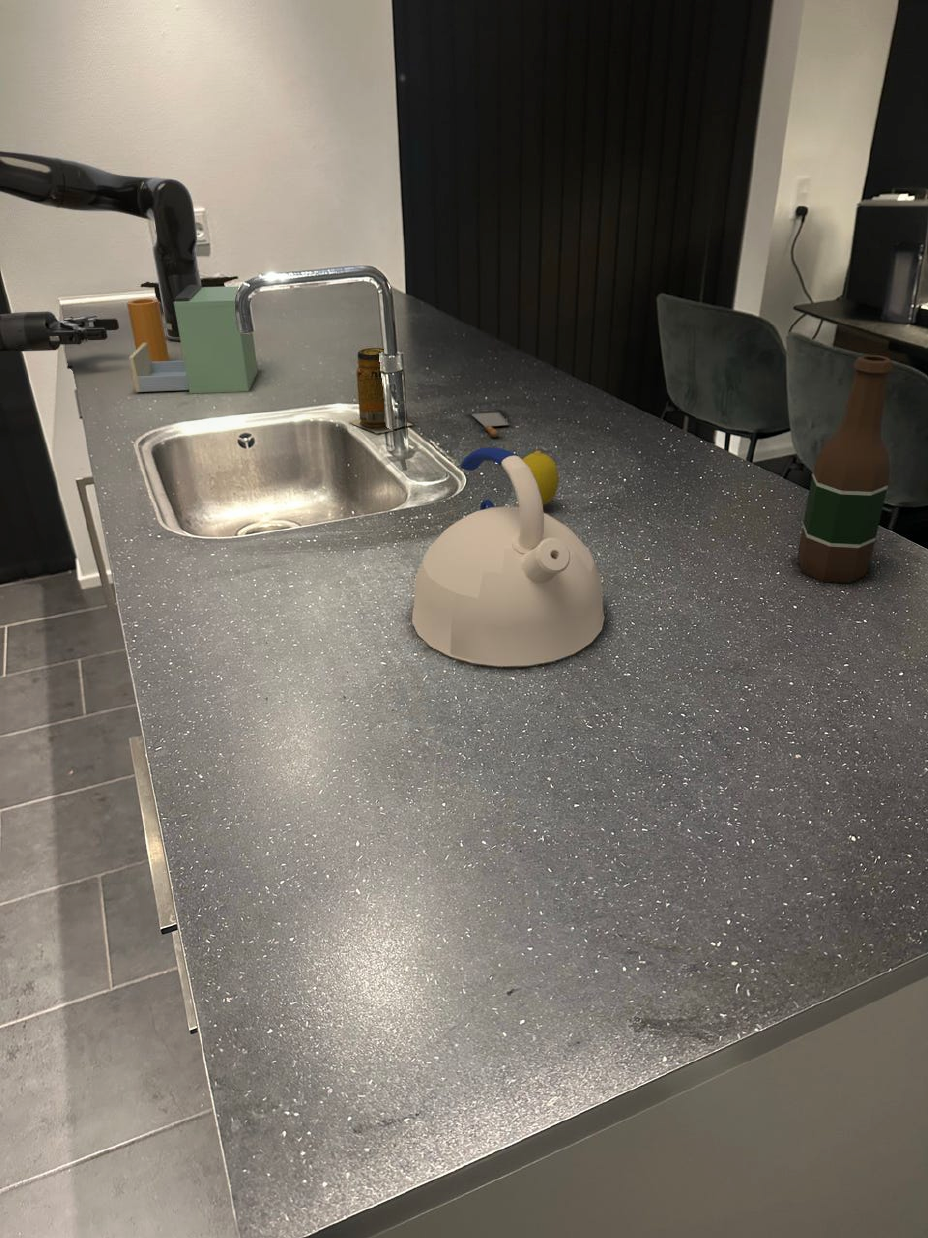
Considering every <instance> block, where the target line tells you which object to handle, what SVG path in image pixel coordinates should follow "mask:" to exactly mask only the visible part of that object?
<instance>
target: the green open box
mask: <svg viewBox="0 0 928 1238" xmlns="http://www.w3.org/2000/svg"><path fill="white" fill-rule="evenodd" d="M239 286H240V285H232V286H231V285H230V286H228V285H227V286H225V287H202V286H201V285H188V286H187V287H186V288H185V289H184V290H183V291H182V292H181V293H180V294H179V295H178V296H177V297H176V298H175V302H174V307H175V313H176V318H177V324H178V330H179V335H180V341H179V342H180V346H181V347H180V348H181V353H182V359H183V361H184V364H185V370H186V375H187V381H188V387H189V390H188V392H189V394H214V393H238V392H243V393H244V392H249V391H250V389H251V387H252V385H253V383H254V381H255V378H256V376H257V375H258V372H259V369H258V362H257V355H256V353H257V352H256V347H255V340H254V332H253V333H250V334H242V333H240V332H239V331H238V329H237V326H236V316H235V297H236V292H237V290H238V288H239Z"/></svg>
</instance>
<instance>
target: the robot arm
mask: <svg viewBox="0 0 928 1238" xmlns="http://www.w3.org/2000/svg"><path fill="white" fill-rule="evenodd" d="M0 193H4V194H7V195H10V196H13V197H16V198H19V199H22V200H25V201H27V202H31V203H35V204H38V205H42V206H46V207H49V208H50V207H51V208H56V209H61V210H67V211H74V212H75V211H77V212H89V213H100V212H102V213H103V212H113V213H119V214H120V213H121V214H125V215H129V216H132V217H133V216H134V217H137V218H141V219H144V220H148V221H150V222H153V223H154V228H155V234H156V240H155V242H154V243H153V245H152V247H151V249H152V256H153V261H154V267H155V272H156V278H157V283H158V284H159V289H160V295H161V300H162V303H161V304H162V311H163V317H164V323H163V325H164V329H166V335H167V340H170V341H175V342H176V341H178V342H181V341H180V335H179V330H178V324H177V318H176V313H175V307H174V302H175V298H176V297H177V296H178V295H179V294H180V293H181V292H182V291H183V290H184V289H185V288H186V287H187V286H188V285H201V280H200V278H201V273H200V267H199V262H198V257H197V256H198V255H197V245H198V231H197V223H196V216H195V208H194V203H193V199H192V195H191V193H190V191H189V189H188V188H187V187H186V185H185V184H184V183H182V182H181V181H179V180H178V179H173V178H168V177H157V176H153V177H148V176H147V177H146V176H132V175H121V174H116V173H113V172H109V171H106V170H104V169H102V168H98V167H96V166H94V165H90V164H87V163H83V162H79V161H77V160H76V161H75V160H71V159H65V158H60V157H54V156H47V155H39V154H35V153H34V154H32V153H26V152H14V151H3V150H0ZM90 323H92V325H89V324H90ZM119 329H120V325H119V321H118V318H115V317H114V318H99V316H98V315H89V316H87V315H86V316H69V317H67V318H64V319H63V320H62V321H59V320H58V319H57V318H56V315H55V314H54V313H53V312H51V311H49V310H48V311H45V310H44V311H21V312H19V311H18V312H17V311H16V312H11V313H3V314H0V352H10V351H11V352H12V351H13V352H43V351H44V352H49V351H51V352H52V351H57V350H58V349H59V348H60V346H62V345H79V346H80V345H81V344H83V343H86V342H88V341H106V340H107V339H108V332H107V331H117V330H119Z"/></svg>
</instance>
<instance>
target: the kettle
mask: <svg viewBox="0 0 928 1238" xmlns="http://www.w3.org/2000/svg"><path fill="white" fill-rule="evenodd" d="M486 461H487V462H488V461H491V462H493V463H495V464H497V465H499V466H501V468H502V467H503V469H504V471H505V472H506V474H507V475H508V477H509V479H510V481H511V483H512V485H513V488H514V491H515V495H516V499H517V503H518V506H494V503H493V502H492V501H491V500H490V499H485V500H482V501H481V503H480V506H479V510H476V511H474V512H472V513H470V514H467V515H466V516H464V517H462V518H461V519H459V520H458V521H456V522H454V523H453V524H451V525H450V526H448V528H446V529H445V530H444V531H443V532H442V533H441V534H440V535H439V536H438V537H437V538H436V539H435V541H434V542H433V543H432V544H431V545H430V546H429V548H428V549H427V551H426V553H425V554H424V556H423V558H422V561H421V563H420V565H419V568H418V570H417V573H416V575H415V581H414V598H413V600H414V601H413V609H412V618H411V619H412V620H411V622H412V625H413V627H414V629H415V631H416V633H417V635H418V637H420V638H421V639H422V640H423V641H424V642H425V643H426V644H427V645H428V646H429V647H431V648H432V649H434V650H436V651H437V652H439V653H442V654H443V655H445V656H447V657H449V658H452V659H453V660H458V661H462V662H465V663H467V664H468V663H469V664H472V665H477V666H484V667H491V668H492V667H493V668H528V667H533V666H539V665H546V664H551V663H555V662H556V661H560V660H562V659H565V658H568V657H571V656H573V655H575V654H576V653H577V652H579V651H581V650H583V649H584V648H585V647H587V646H589V645H590V644H592V643H593V641H595V639H596V638H597V637H598V635H599V634H600V633H601V632H602V631H603V627H604V621H605V614H604V595H603V594H604V593H603V592H604V591H603V582H602V579H601V575H600V573H599V568H598V567H597V564H596V562H595V560H594V557H593V555H592V552H591V551H590V549H588V547H587V546H586V545H585V544H584V543H583V542H582V540H581V539H580V538H579V537H578V536H577V535H576V533H575V532H573V530H572V529H571V528H570V527H568V526H566V525H565V524H563V523H562V522H560V521H559V520H557V519H556V518H554V517H552V516H551V515H549V514H548V513H546V512H544V505H543V504H542V499H541V495H540V492H539V488H538V485H537V482H536V480H535V478H534V476H533V474H532V472H531V469H530V468H529V467H528V466H527V465H526V464H525V462H524V461H523V458H521V456H520V455H519V454H517V453H514V452H513V451H511V450H508V449H504V448H500V447H495V446H491V447H490V446H489V447H481V448H478V449H476V450H473V451H471V452H470V453H469V454H468V455H466V456H465V457H464V459H463V460H462V462H461V463H460V468H461V469H462V470H464V471H468V472H470V471H476V470H478V469H479V467H480V466H481V465H482V464H483V463H484V462H486Z"/></svg>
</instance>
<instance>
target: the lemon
mask: <svg viewBox="0 0 928 1238" xmlns="http://www.w3.org/2000/svg"><path fill="white" fill-rule="evenodd" d="M522 460H523V461H524V462H525V464H526V465H527V466H528V467H529V468H530V469H531V472H532V474H533V476H534V478H535V480H536V482H537V485H538V488H539V492H540V495H541V499H542V504H543V506H546V505H547V504H548V503H550V502H551V501H552V500H553V499H554V497H555V496H556V494H557V491H558V487H559V472H558V468H557V465H556V463H555V461H554V460H553V458H552V457H551V456H549V455H547V454H545V453H543V452H542V451H540V450H535V451H534V452H532V453H529V454H528V455H526V456H525V457H524V458H522Z"/></svg>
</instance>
